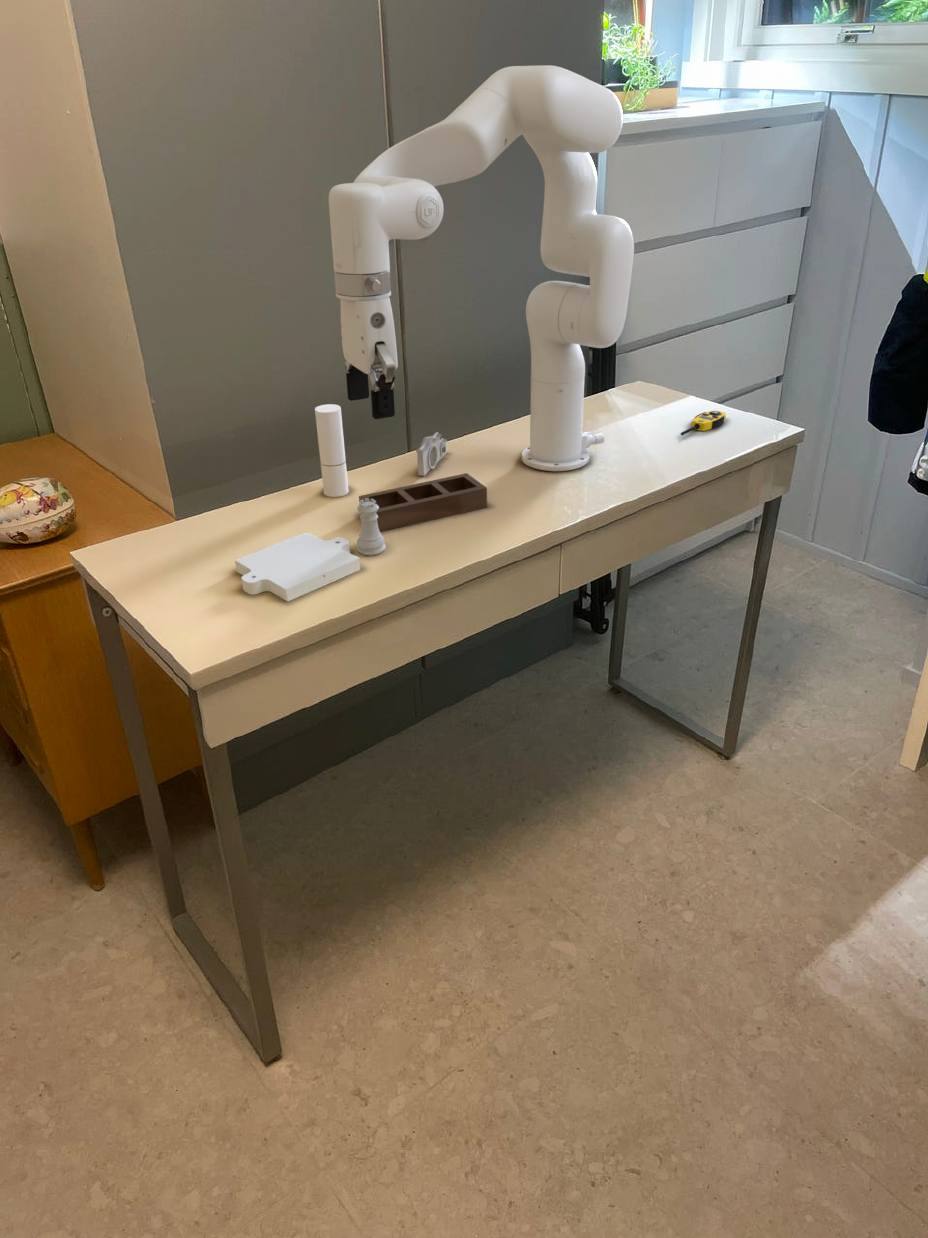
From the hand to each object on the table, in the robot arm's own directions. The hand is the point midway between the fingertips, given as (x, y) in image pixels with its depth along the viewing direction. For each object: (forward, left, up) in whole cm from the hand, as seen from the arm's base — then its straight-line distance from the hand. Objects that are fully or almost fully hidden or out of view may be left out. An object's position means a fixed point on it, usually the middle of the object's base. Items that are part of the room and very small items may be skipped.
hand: (370, 407), depth 134 cm
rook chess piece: (+3, +2, -21) cm, 22 cm away
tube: (0, -22, -21) cm, 30 cm away
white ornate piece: (-20, -25, -21) cm, 38 cm away
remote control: (-75, -16, -21) cm, 80 cm away
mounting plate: (+15, +3, -21) cm, 26 cm away
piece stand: (-10, -7, -21) cm, 25 cm away
